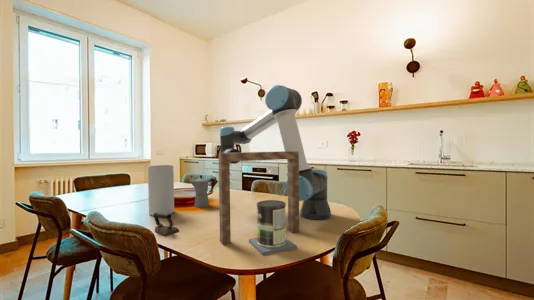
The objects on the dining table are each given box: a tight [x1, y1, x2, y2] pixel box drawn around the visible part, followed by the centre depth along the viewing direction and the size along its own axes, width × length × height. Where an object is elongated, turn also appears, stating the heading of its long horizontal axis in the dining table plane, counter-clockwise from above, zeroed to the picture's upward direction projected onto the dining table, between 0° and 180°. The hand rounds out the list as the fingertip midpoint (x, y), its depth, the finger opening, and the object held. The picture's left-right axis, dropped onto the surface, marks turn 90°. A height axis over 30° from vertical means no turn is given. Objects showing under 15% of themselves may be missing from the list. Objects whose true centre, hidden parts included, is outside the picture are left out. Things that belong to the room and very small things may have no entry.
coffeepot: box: [189, 174, 216, 208], centre depth 159 cm, size 15×9×18 cm, turn 126°
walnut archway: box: [218, 150, 300, 246], centre depth 105 cm, size 32×4×33 cm, turn 114°
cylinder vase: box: [147, 164, 175, 217], centre depth 142 cm, size 12×12×25 cm
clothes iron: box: [153, 213, 180, 237], centre depth 112 cm, size 7×11×10 cm, turn 60°
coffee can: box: [256, 199, 287, 248], centre depth 96 cm, size 10×10×14 cm
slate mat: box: [248, 237, 298, 256], centre depth 96 cm, size 13×13×1 cm
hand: (246, 157), depth 120 cm, fingers open, 13 cm apart
